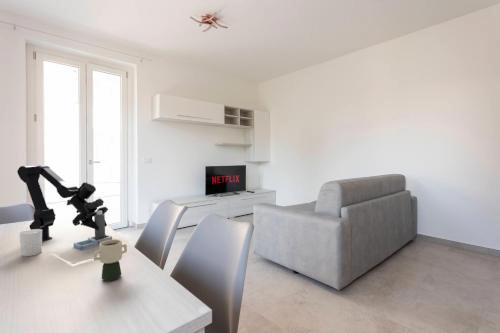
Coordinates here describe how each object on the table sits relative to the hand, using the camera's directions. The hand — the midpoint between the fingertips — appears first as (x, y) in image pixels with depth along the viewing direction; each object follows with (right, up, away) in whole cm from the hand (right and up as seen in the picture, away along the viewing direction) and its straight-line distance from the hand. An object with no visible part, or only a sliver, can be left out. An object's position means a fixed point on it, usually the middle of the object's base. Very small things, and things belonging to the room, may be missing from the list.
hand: (102, 227), depth 132 cm
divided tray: (-3, -8, -3) cm, 9 cm away
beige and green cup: (+25, -9, -38) cm, 46 cm away
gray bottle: (-1, -7, +1) cm, 7 cm away
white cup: (-23, -8, -15) cm, 29 cm away
